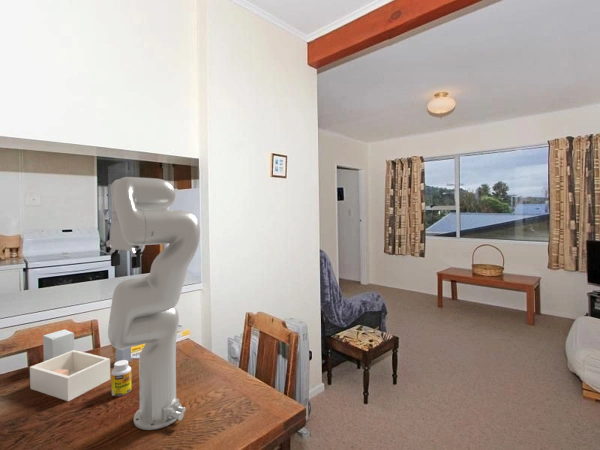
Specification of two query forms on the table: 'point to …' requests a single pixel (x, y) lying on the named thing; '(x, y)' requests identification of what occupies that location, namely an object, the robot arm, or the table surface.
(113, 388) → the supplement bottle
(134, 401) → the table surface
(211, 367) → the table surface
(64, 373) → the terracotta block
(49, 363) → the storage box
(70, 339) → the supplement box
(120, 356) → the lid
